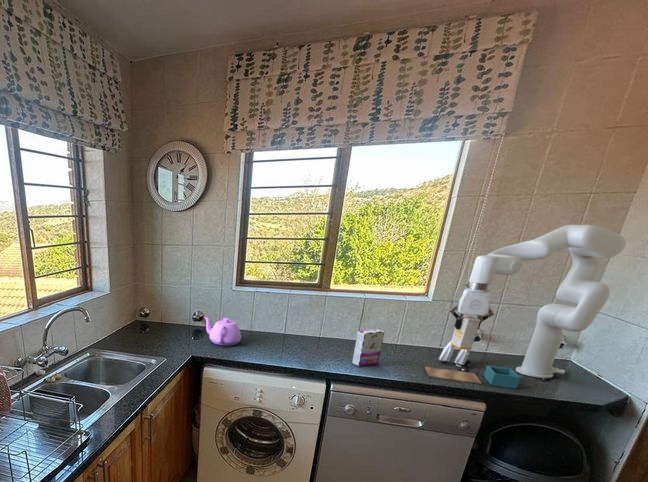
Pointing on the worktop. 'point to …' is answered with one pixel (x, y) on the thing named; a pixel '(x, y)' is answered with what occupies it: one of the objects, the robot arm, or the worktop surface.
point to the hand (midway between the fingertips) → (466, 329)
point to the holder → (502, 377)
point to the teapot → (224, 332)
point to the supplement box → (465, 333)
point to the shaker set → (448, 353)
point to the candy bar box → (368, 347)
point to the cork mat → (453, 375)
